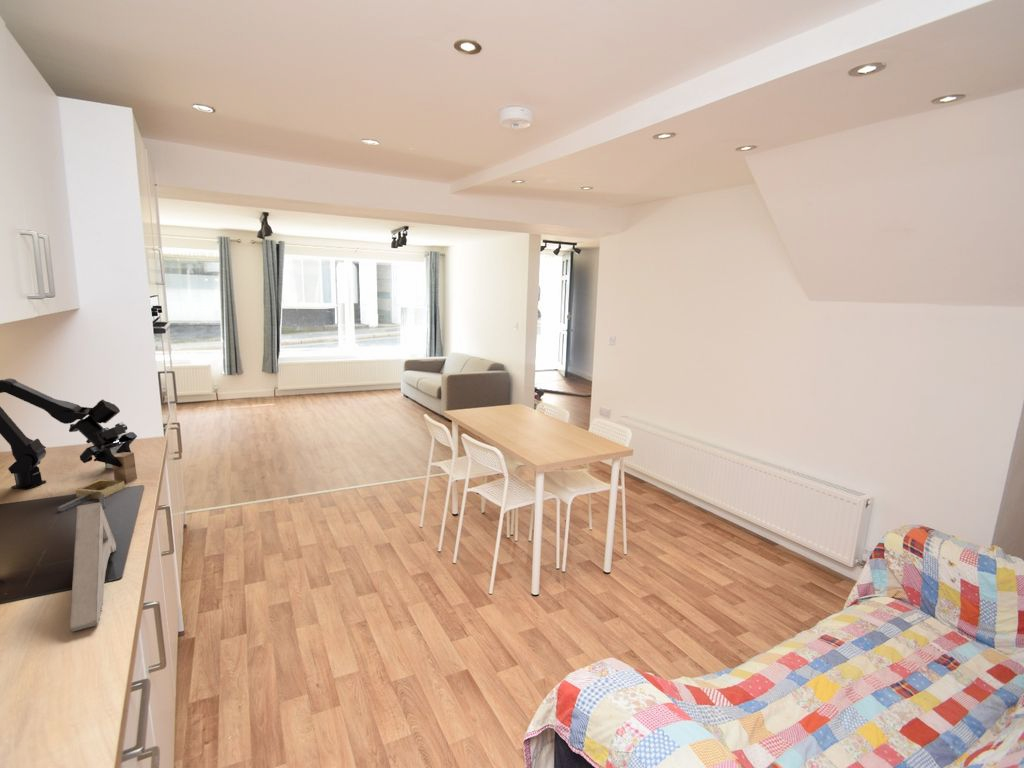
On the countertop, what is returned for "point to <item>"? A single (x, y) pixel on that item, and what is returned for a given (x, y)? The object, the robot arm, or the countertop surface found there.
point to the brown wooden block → (125, 467)
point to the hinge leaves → (94, 492)
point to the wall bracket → (90, 565)
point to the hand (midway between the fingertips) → (127, 463)
